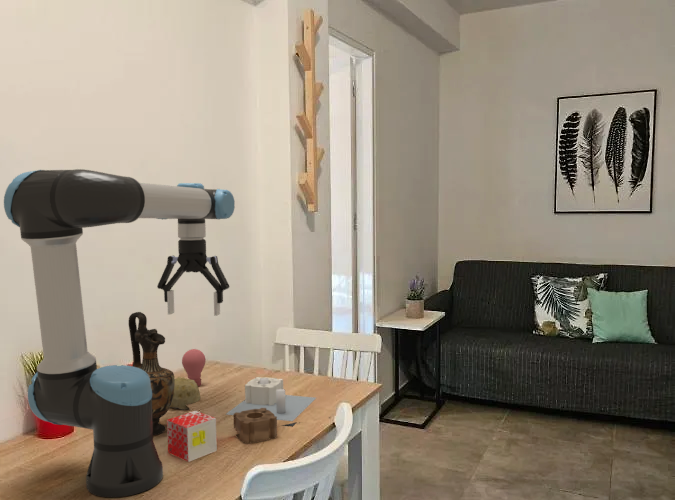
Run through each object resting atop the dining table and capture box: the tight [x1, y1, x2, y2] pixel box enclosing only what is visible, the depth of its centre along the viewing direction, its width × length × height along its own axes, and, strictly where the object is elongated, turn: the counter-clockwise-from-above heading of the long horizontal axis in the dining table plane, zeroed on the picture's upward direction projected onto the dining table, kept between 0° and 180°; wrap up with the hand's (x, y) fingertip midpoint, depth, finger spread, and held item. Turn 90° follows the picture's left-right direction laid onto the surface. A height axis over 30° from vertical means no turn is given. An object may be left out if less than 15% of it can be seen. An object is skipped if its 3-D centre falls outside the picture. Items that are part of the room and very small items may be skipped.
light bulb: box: [181, 348, 207, 387], centre depth 192 cm, size 7×7×12 cm
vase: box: [128, 311, 176, 436], centre depth 156 cm, size 12×12×30 cm
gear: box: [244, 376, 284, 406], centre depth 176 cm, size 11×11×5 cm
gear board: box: [225, 377, 317, 428], centre depth 170 cm, size 19×19×8 cm
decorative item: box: [169, 376, 201, 410], centre depth 176 cm, size 10×10×10 cm
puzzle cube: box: [166, 410, 218, 463], centre depth 144 cm, size 8×8×8 cm
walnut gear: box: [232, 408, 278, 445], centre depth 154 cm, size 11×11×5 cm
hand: (194, 314), depth 175 cm, fingers open, 13 cm apart
